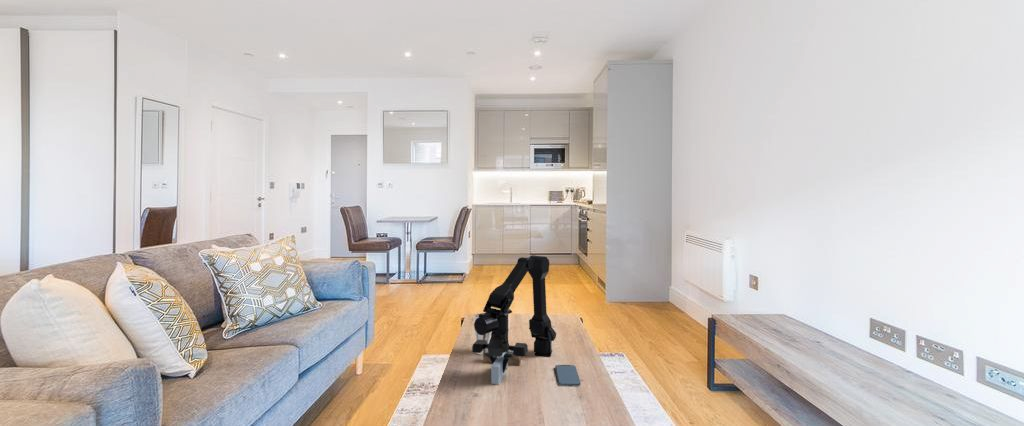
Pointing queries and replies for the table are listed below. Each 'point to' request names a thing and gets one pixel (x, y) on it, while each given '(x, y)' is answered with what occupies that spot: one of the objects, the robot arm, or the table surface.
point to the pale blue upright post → (497, 370)
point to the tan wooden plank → (512, 361)
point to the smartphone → (567, 375)
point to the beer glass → (482, 337)
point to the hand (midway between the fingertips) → (499, 371)
